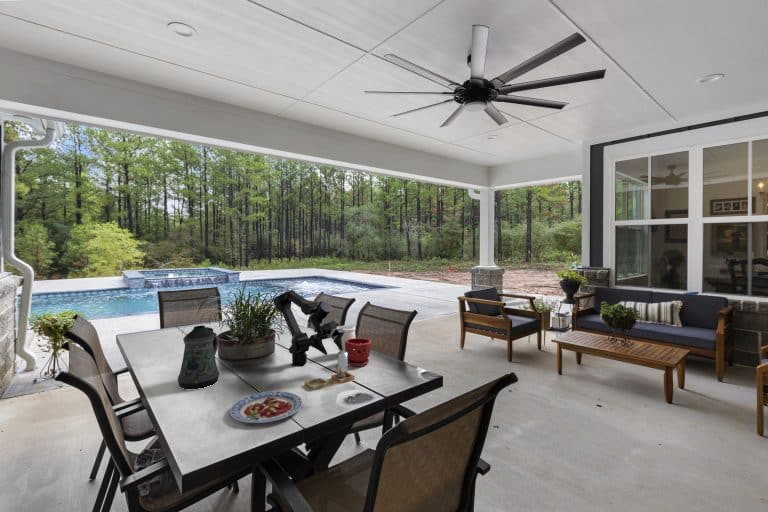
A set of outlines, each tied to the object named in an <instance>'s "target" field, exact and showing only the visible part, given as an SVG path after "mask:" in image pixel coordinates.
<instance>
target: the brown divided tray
mask: <svg viewBox="0 0 768 512" xmlns="http://www.w3.org/2000/svg"><path fill="white" fill-rule="evenodd" d="M330 376H331V378H327V379H324V378H322V377H317V378H313V379H309V380H305V381H304V382H303V383H304V384H303V385H302V386H303V387H304V388H305V389H307V390H308V391H309V392H315V391H319V390H323V389H325V388H331V387H335V386H337V385H342V384H345V383H349V382H354V381H357V379H356V378H355V376H354V375H353V374H352V373H350V372H348V377H347V378H343V379H339V378H338V372H337V373H334V374H333V373H332V374H331V375H330Z"/></svg>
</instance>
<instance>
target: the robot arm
mask: <svg viewBox="0 0 768 512" xmlns="http://www.w3.org/2000/svg"><path fill="white" fill-rule="evenodd" d="M292 303H293V304H294V305H296V306H297V307H299V308H300V311H301V313H303V314H304V315H305V316H308V315H309V317H308V320H307V323H309V324H310V323H311V325H312V326H313V328H314V330H313V332H314V333H315V334H311V335H310V337H308V333H306V332H303V331H301V328H300V325H299V324H298V322H297V319H296V317H295V315H294V313H293V310H292ZM273 305H274V307H275V308H276V309H277V310H278V311H279V312H280V313H281V314H282V316H283V319H284V321H285V323H286V325H287V327H288V330H289V332H290V334H291V341H290V342H291V345H290V346H289V348H288V353H289V354H292V355H291V361H292V362H291V364H290V365H291V366H293V367H297V366H298V367H302V366H303V367H304V366H305V365H306V364H307V363H308V354H307V352H308V351H309V350H310V347H311V348H314V349H315V350H317V351H319V352H321V353H322V354H323V355H325V356H327V355H328V352H327V349H326V348H325V346H324V344H323V340H327V339H332V340H333V343H334V344H335V345H336V347H337V349H338V348H339V349H340V350H341V351H342V350H343V347H342V340H341V338H342V336H343V334H344V333H345V332H344V330H343V329H342V328H340V329H337V327H339V325H340V324H339V321H338V320H337V319H333V320H331V321H325V319H327V318H328V316H329V314H330V313H331V312H332V310H333V307H332V305H331V304H329V303H328V302H326V301H325V300H321V301H319V303H318V302H316V301H315V300H310V299H309V300H308V299H306V298H305V297H303V296H302V295H300V294H298V293H297V292H296V291H295V290H286V291H285V292H283V293H281V294H279V295H276V296H275V297H274V299H273ZM333 329H334V330H333Z"/></svg>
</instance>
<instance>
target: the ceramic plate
mask: <svg viewBox="0 0 768 512" xmlns="http://www.w3.org/2000/svg"><path fill="white" fill-rule="evenodd" d="M261 401H263V402H261ZM303 401H304V400H303V399H302V397H300V396H299V395H298V394H296V393H293V392H289V391H281V390H280V391H278V390H274V391H272V390H271V391H263V392H258V393H255V394H251V395H248V396H245V397H243V398H241V399H239V400H238V401H236V402H235V403H233V405H232V406H231V407H230V409H229V414H230V416H231V417H232V418H234V420H237V421H239V422H242V423H249V424H260V423H261V424H263V423H269V422H270V423H272V422H275V421H280V420H283V419H286V418H287V417H290V416H292V415H294V414H295V413H297V412H299V410H300V409H301V408H302V407H303V403H304V402H303ZM258 402H260V403H258ZM254 403H255V404H254Z"/></svg>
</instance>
